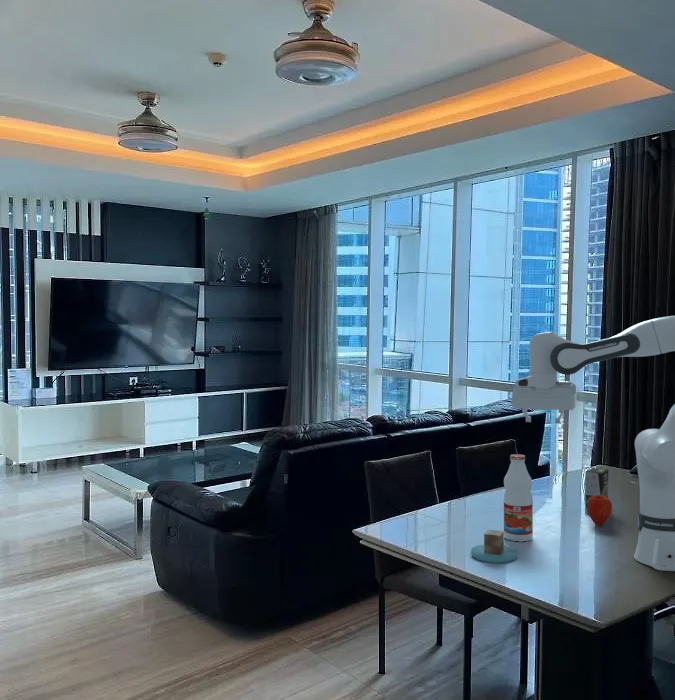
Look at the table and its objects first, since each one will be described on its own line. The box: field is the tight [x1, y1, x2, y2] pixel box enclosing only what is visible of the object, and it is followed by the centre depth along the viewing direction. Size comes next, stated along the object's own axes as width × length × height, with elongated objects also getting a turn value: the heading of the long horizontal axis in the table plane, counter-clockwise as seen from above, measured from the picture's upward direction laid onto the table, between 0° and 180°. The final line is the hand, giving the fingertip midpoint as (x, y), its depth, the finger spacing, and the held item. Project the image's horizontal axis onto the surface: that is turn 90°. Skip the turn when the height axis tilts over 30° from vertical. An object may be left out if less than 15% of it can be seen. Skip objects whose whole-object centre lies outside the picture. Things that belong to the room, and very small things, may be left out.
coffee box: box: [584, 467, 609, 515], centre depth 258 cm, size 9×6×16 cm
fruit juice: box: [503, 453, 534, 543], centre depth 229 cm, size 9×9×28 cm
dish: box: [470, 544, 518, 564], centre depth 213 cm, size 14×14×1 cm
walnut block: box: [483, 529, 505, 555], centre depth 213 cm, size 5×5×6 cm
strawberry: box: [587, 495, 613, 527], centre depth 242 cm, size 9×8×11 cm
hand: (543, 422), depth 227 cm, fingers open, 8 cm apart
